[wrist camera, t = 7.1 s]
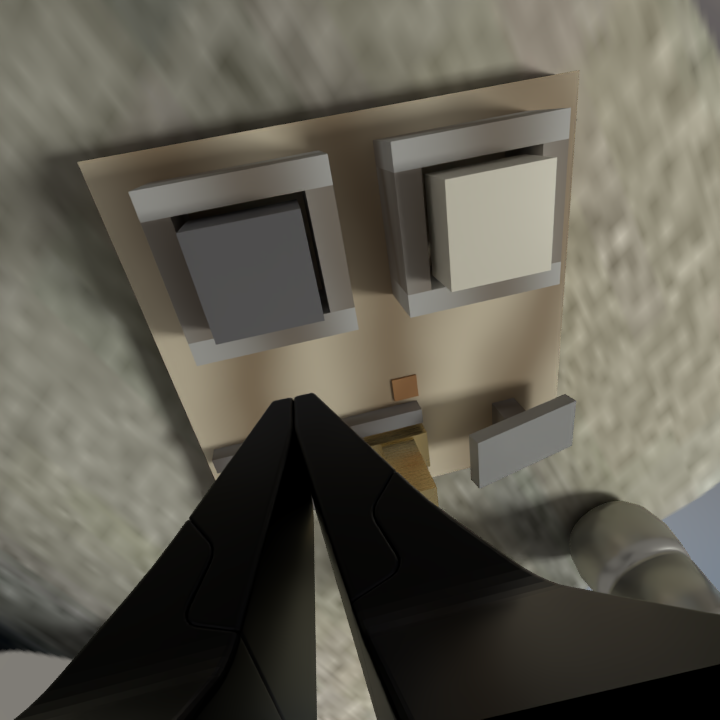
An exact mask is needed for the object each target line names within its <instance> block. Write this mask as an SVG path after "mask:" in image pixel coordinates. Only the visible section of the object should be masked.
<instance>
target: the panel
mask: <svg viewBox="0 0 720 720" xmlns="http://www.w3.org/2000/svg"><path fill="white" fill-rule="evenodd" d="M579 71H580V70H578V71H572V72H567V73H561V74H556V75H550V76H545V77H539V78H534V79H528V80H523V81H517V82H512V83H507V84H501V85H496V86H490V87H485V88H479V89H474V90H468V91H463V92H457V93H452V94H446V95H441V96H436V97H430V98H425V99H419V100H414V101H408V102H403V103H397V104H392V105H386V106H381V107H375V108H370V109H364V110H359V111H354V112H348V113H343V114H337V115H332V116H326V117H321V118H315V119H310V120H304V121H299V122H293V123H288V124H283V125H277V126H272V127H266V128H261V129H255V130H250V131H244V132H239V133H233V134H228V135H222V136H217V137H211V138H206V139H201V140H195V141H190V142H184V143H179V144H173V145H168V146H162V147H157V148H151V149H146V150H140V151H135V152H129V153H124V154H119V155H113V156H108V157H102V158H97V159H91V160H86V161H80V162H77V163H78V165H79V167H80V170H81V172H82V174H83V177H84V179H85V181H86V183H87V186H88V188H89V190H90V193H91V195H92V197H93V200H94V202H95V204H96V206H97V209H98V211H99V213H100V216H101V218H102V220H103V223H104V225H105V227H106V229H107V232H108V234H109V236H110V239H111V241H112V243H113V246H114V248H115V250H116V252H117V255H118V257H119V259H120V262H121V264H122V266H123V269H124V271H125V273H126V275H127V278H128V280H129V282H130V285H131V287H132V289H133V292H134V294H135V296H136V299H137V301H138V303H139V305H140V308H141V310H142V312H143V315H144V317H145V319H146V322H147V324H148V326H149V328H150V331H151V333H152V335H153V338H154V340H155V342H156V345H157V347H158V349H159V351H160V354H161V356H162V358H163V361H164V363H165V365H166V368H167V370H168V372H169V374H170V377H171V379H172V381H173V384H174V386H175V388H176V391H177V393H178V395H179V397H180V400H181V402H182V404H183V407H184V409H185V411H186V414H187V416H188V418H189V420H190V423H191V425H192V427H193V430H194V432H195V434H196V437H197V439H198V441H199V443H200V446H201V448H202V450H203V453H204V455H205V457H206V460H207V462H208V464H209V466H210V469H211V471H212V473H213V476H214V478H215V480H216V479H217V478H218V477H219V475H220V474H221V472H222V471H223V470H224V468H225V467H226V465H227V464H228V463H229V461H230V460H231V458H232V457H233V456H234V454H235V453H236V451H237V450H238V449H239V447H240V446H241V444H242V443H243V442H244V440H245V439H246V437H247V436H248V435H249V433H250V432H251V430H252V429H253V428H254V426H255V425H256V424H257V422H258V421H259V419H260V418H261V417H262V415H263V414H264V412H265V411H266V410H267V408H268V407H269V405H270V404H271V403H272V402H273V401H275V400H280V399H285V398H293V400H294V398H295V397H296V396H299V395H303V394H308V393H314V394H316V395H317V396H318V397H319V398H320V399H321V400H322V401H323V402H324V403H325V404H326V405H327V406H328V407H329V408H330V409H331V410H333V411H334V412H335V413H336V414H337V415H338V416H339V417H340V418H341V419H342V420H343V421H344V422H345V423H346V424H347V425H348V426H350V427H351V428H352V429H353V430H354V431H355V432H356V433H357V434H358V435H359V436H360V437H361V438H362V439H363V440H364V437H367V436H371V435H375V434H379V433H383V432H387V431H391V430H395V429H399V428H403V427H407V426H411V425H415V424H419V423H422V424H423V426H424V428H425V430H426V432H427V439H428V448H429V457H430V467H427V468H428V470H429V472H430V474H431V476H432V477H435V476H439V475H443V474H447V473H450V472H454V471H458V470H462V469H466V468H470V448H469V435H470V434H472V433H475V432H477V431H479V430H482V429H484V428H486V427H489V426H491V425H493V424H496V423H498V422H500V421H503V420H505V419H508V418H510V417H512V416H515V415H517V414H519V413H522V412H524V411H526V410H529V409H531V408H533V407H536V406H538V405H540V404H543V403H545V402H547V401H550V400H552V399H554V398H556V397H557V383H558V369H559V354H560V340H561V326H562V312H563V298H564V284H565V269H566V255H567V241H568V227H569V213H570V199H571V185H572V170H573V156H574V142H575V128H576V114H577V100H578V85H579ZM522 154H528V155H539V156H549V157H557V169H556V188H555V206H554V225H553V243H552V261H551V270H549V271H545V272H540V273H536V274H532V275H527V276H523V277H518V278H514V279H509V280H505V281H500V282H496V283H491V284H487V285H482V286H478V287H473V288H469V289H464V290H460V291H455V292H451V291H450V290H449V289H447V288H446V287H445V286H444V285H443V284H442V283H441V282H440V281H438V280H437V279H436V278H435V277H434V276H433V275H432V263H431V250H430V238H429V226H428V214H427V202H426V189H425V177H424V174H426V173H431V172H436V171H441V170H446V169H451V168H456V167H461V166H467V165H472V164H477V163H482V162H487V161H492V160H497V159H502V158H507V157H512V156H517V155H522ZM295 199H297V201H298V204H299V206H300V209H301V214H302V218H303V223H304V227H305V232H306V236H307V241H308V246H309V250H310V255H311V259H312V264H313V269H314V273H315V278H316V282H317V287H318V292H319V296H320V301H321V305H322V310H323V315H324V319H325V321H321V322H316V323H312V324H307V325H303V326H298V327H294V328H290V329H285V330H281V331H276V332H272V333H267V334H263V335H258V336H254V337H249V338H245V339H240V340H236V341H231V342H227V343H222V344H218V345H216V344H215V341H214V338H213V335H212V333H211V330H210V327H209V324H208V321H207V319H206V316H205V313H204V310H203V308H202V305H201V302H200V299H199V296H198V294H197V291H196V288H195V285H194V283H193V280H192V277H191V274H190V271H189V269H188V266H187V263H186V260H185V258H184V255H183V252H182V249H181V247H180V244H179V241H178V238H177V235H176V233H177V232H178V231H179V229H180V228H181V227H182V226H183V225H184V224H185V223H186V222H187V221H189V220H194V219H199V218H204V217H209V216H214V215H219V214H224V213H229V212H234V211H239V210H244V209H249V208H255V207H260V206H265V205H270V204H275V203H280V202H285V201H290V200H295ZM312 500H313V499H312ZM313 510H315V506H314V502H313Z"/></svg>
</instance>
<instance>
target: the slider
mask: <svg viewBox="0 0 720 720" xmlns="http://www.w3.org/2000/svg"><path fill="white" fill-rule="evenodd" d="M364 441H365V442H366V443H368V444H369V445H370V446H371V447H372V448H373V449H374V450H375V451H376V452H377V453H378V454H379V455H380V456H381V457H382V458H383V459H384V460H386V461H387V462H388V463H389V464H390V465H391V466H392V467H393V468H394V469H395V470H396V472H398V473H400V474H401V475H402V476H403V477H404V478H405V479H406V480H407V481H408V482H409V483H410V484H411V485H412V486H414V487H415V488H416V489H417V490H418V491H419V492H420V493H422V494H423V495H424V496H425V497H426V498H427V499H428V500H430V501H431V502H432V503H434V504H435V505H436V506H438V496H437V487H436V485H435V483H434V481H433V479H432V476H431V474H430V472H429V470H428V468H427V467H430V457H429V448H428V439H427V432H426V430H425V428H424V426H423V424H422V423H419V424H415V425H411V426H407V427H403V428H399V429H395V430H391V431H387V432H383V433H379V434H375V435H371V436H367V437H364ZM438 507H439V506H438Z"/></svg>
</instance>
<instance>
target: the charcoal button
mask: <svg viewBox="0 0 720 720" xmlns="http://www.w3.org/2000/svg"><path fill="white" fill-rule="evenodd" d="M176 235H177V238H178V241H179V244H180V247H181V249H182V252H183V255H184V258H185V260H186V263H187V266H188V269H189V271H190V274H191V277H192V280H193V283H194V285H195V288H196V291H197V294H198V296H199V299H200V302H201V305H202V308H203V310H204V313H205V316H206V319H207V321H208V324H209V327H210V330H211V333H212V335H213V338H214V341H215V344H216V345H218V344H222V343H227V342H231V341H236V340H240V339H245V338H249V337H254V336H258V335H263V334H267V333H272V332H276V331H281V330H285V329H290V328H294V327H298V326H303V325H307V324H312V323H316V322H321V321H325V319H324V315H323V310H322V305H321V301H320V296H319V292H318V287H317V282H316V278H315V273H314V269H313V264H312V259H311V255H310V250H309V246H308V241H307V236H306V232H305V227H304V223H303V218H302V214H301V209H300V206H299V204H298V201H297V199H295V200H290V201H285V202H280V203H275V204H270V205H265V206H260V207H255V208H249V209H244V210H239V211H234V212H229V213H224V214H219V215H214V216H209V217H204V218H199V219H194V220H189V221H187V222H186V223H185V224H184V225H183V226H182V227H181V228H180V229H179V231H178V232H177V233H176Z"/></svg>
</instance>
